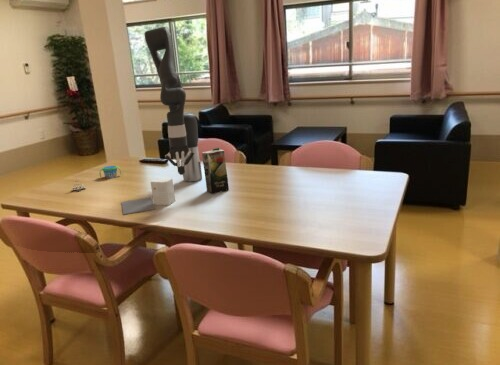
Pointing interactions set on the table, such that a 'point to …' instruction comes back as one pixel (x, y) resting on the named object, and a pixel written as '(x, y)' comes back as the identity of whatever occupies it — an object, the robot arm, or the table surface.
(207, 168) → the juice carton
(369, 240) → the table surface
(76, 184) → the house of cards
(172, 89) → the robot arm
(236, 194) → the table surface
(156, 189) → the small box
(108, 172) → the snack cup
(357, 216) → the table surface
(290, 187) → the table surface
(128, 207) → the mat
